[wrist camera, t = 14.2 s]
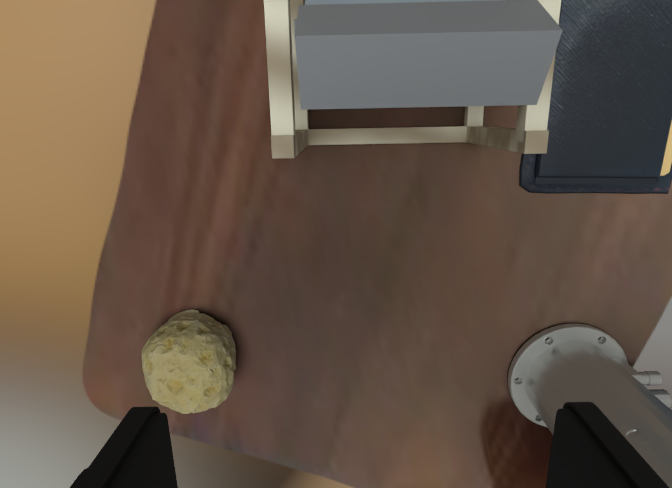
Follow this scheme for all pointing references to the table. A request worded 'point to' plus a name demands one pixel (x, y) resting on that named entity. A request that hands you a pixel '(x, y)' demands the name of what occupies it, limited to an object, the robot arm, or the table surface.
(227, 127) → the table surface
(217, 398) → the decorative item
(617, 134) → the wallet
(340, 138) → the frame
